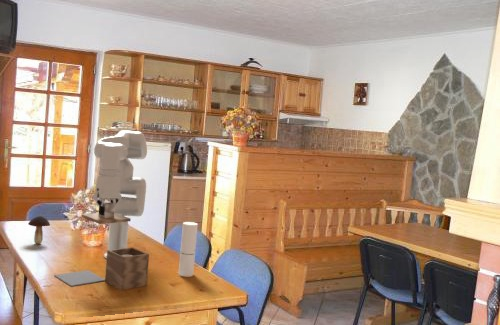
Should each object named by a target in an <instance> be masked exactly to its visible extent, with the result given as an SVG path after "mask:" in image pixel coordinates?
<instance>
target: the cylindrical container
mask: <svg viewBox="0 0 500 325" xmlns="http://www.w3.org/2000/svg"><path fill="white" fill-rule="evenodd" d="M198 226H199V225H198V223H197V222H193V221H185V222H184V221H183V222H182V229H181V230H182V231H181V238H180V239H181V241H180V251H179V252H180V253H179V260H178V261H179V262H178V263H179V265H178V276H180V277H186V278H187V277H193V276H194V272H195V271H194V270H195V259H196V258H195V256H196V247H197V236H198V228H199V227H198Z"/></svg>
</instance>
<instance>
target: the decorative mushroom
mask: <svg viewBox="0 0 500 325" xmlns="http://www.w3.org/2000/svg"><path fill="white" fill-rule="evenodd" d="M28 225H29V226H31V227H35V232H34V236H33V237H34V238H33V241H34V243H35V244H36V245H38V244H42V243H43V239H44V237H43V235H44V234H43V232H44V231H43V227H49V226H51V224H50V221H49V220H48V219H47V218H45V217H44V216H36V217H33V218H32V219H30V220H29V221H28Z"/></svg>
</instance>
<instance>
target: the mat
mask: <svg viewBox="0 0 500 325" xmlns="http://www.w3.org/2000/svg"><path fill="white" fill-rule="evenodd" d="M54 277H55V278H57V279H58V280H59V281H62V282H63V283H65V284H66V285H67V286H70V287H71V288H72V287H77V286H83V285H90V284H96V283H102V282H105V278H103V277H101V276H99V275H97V274H96V273H94V272H93V271H90V270H88V269H87V270H81V271H73V272H66V273H59V274H58V273H57V274H54Z"/></svg>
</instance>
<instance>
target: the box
mask: <svg viewBox="0 0 500 325" xmlns="http://www.w3.org/2000/svg"><path fill="white" fill-rule="evenodd" d="M106 253H107V258H106V264H105V265H106V266H105V276H104V277H105V278H104V279H105V281H104V282H105V283H107V284H109V285H111V286H113V287H114V288H116V289H118V290H120V291H123V290H128V289H133V288H139V287H145V286H147V284H148V276H149V275H148V272H149V263H150V262H149V261H150V254H149V253H147V252H145V251H143V250H140V249H138V248H136V247H127V248H123V249H115V250H108V249H107V252H106ZM122 255H133V256H127V257H123V256H122Z"/></svg>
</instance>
